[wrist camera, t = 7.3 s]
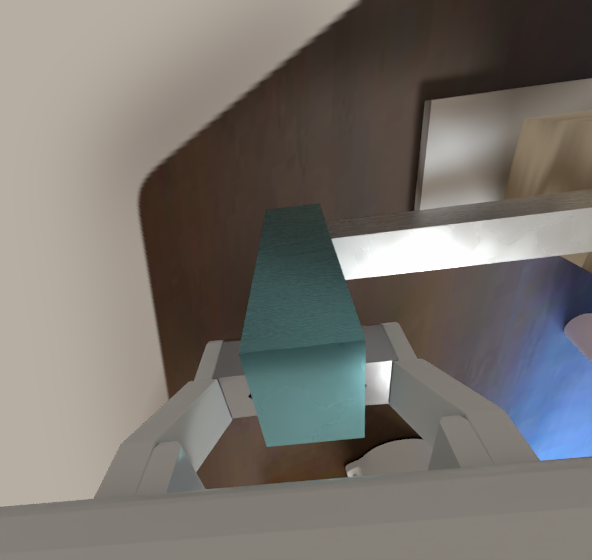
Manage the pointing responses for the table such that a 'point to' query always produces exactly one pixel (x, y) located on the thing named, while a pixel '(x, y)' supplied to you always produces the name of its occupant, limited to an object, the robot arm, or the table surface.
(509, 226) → the shaft
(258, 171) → the table surface
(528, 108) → the stand
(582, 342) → the smoothie
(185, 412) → the robot arm
